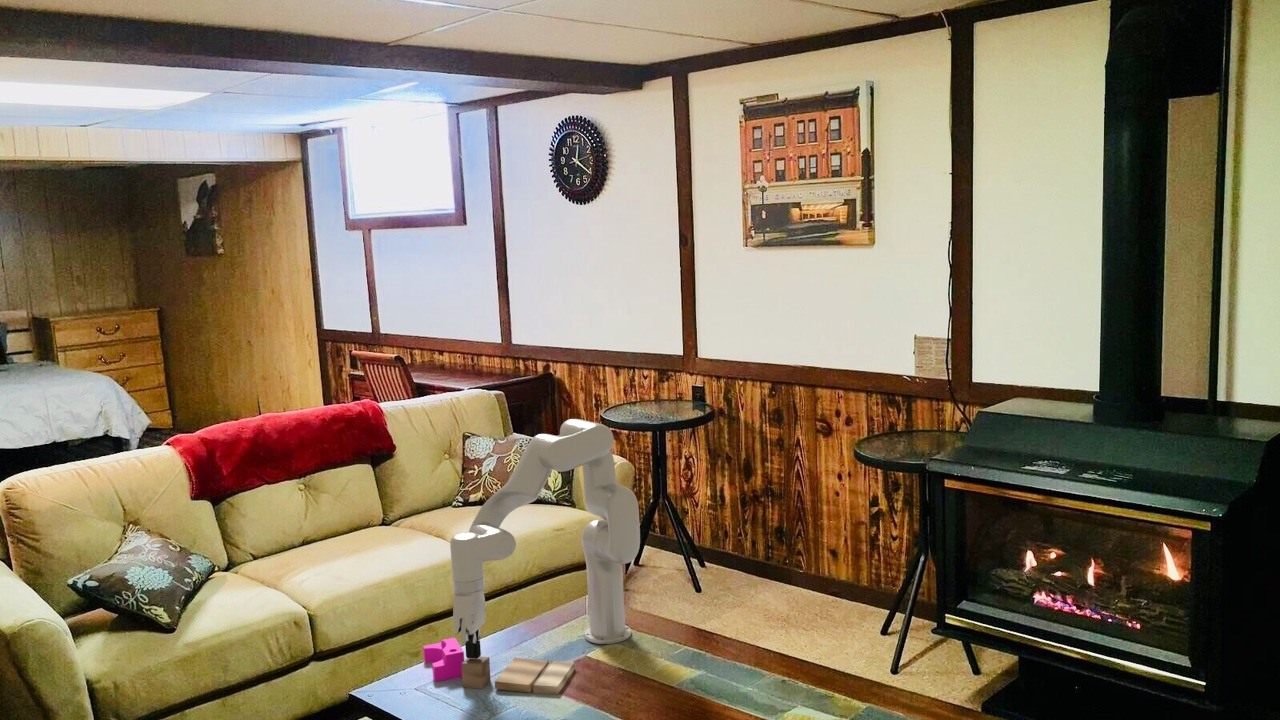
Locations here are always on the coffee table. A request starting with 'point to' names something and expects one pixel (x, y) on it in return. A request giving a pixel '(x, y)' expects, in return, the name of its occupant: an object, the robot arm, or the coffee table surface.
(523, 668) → the plank
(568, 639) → the coffee table surface
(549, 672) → the laid board
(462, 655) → the toy block
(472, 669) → the walnut block
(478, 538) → the robot arm
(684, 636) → the coffee table surface
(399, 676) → the coffee table surface
